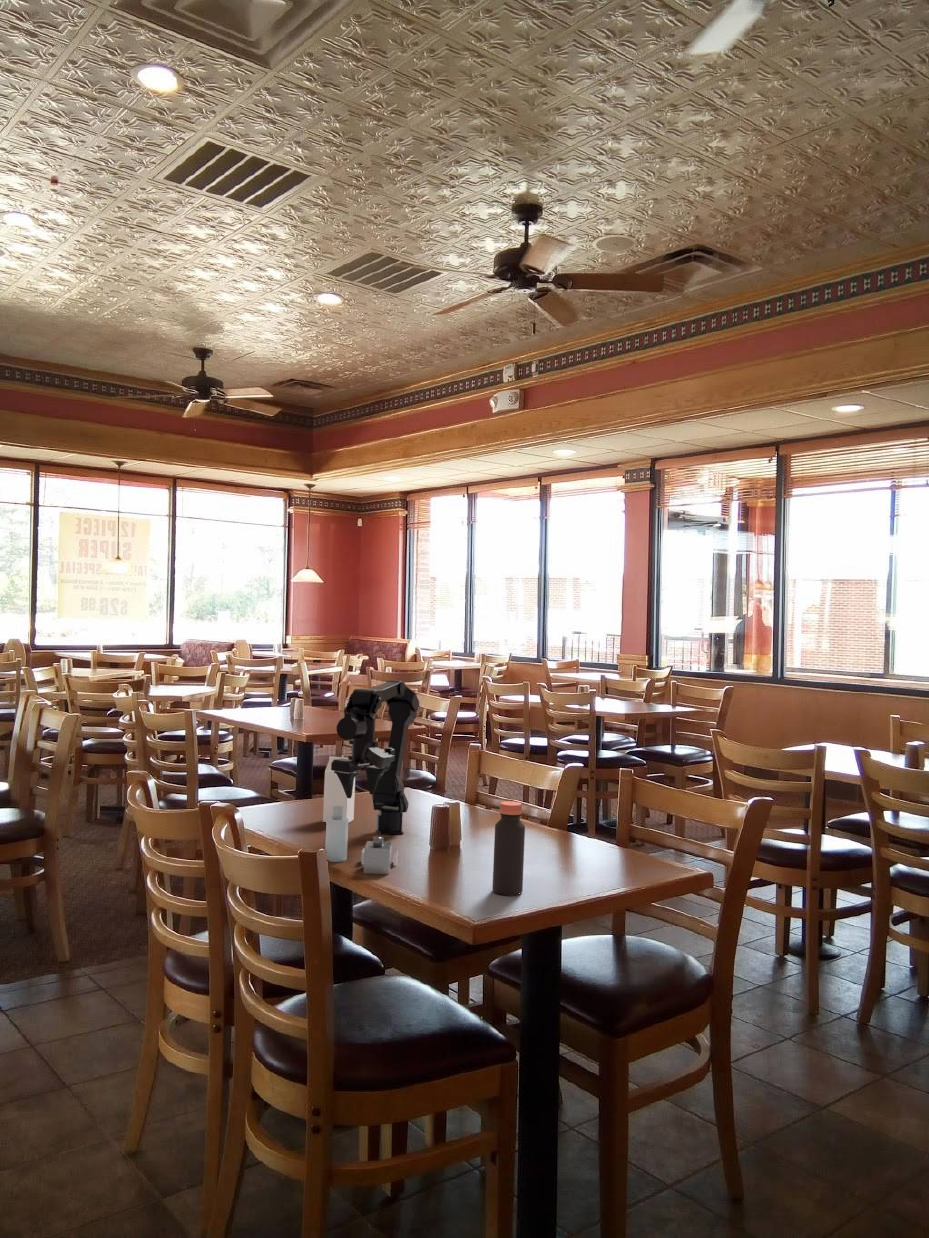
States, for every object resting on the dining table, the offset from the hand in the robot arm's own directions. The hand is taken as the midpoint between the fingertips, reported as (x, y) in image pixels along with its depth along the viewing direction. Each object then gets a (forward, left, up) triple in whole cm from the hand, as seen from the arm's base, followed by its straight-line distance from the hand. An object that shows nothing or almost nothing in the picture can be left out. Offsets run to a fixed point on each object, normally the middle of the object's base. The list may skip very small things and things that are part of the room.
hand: (360, 796), depth 251 cm
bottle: (-25, +46, -14) cm, 54 cm away
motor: (-1, +21, -13) cm, 25 cm away
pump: (+8, +12, -13) cm, 19 cm away
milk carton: (0, -30, -14) cm, 33 cm away
